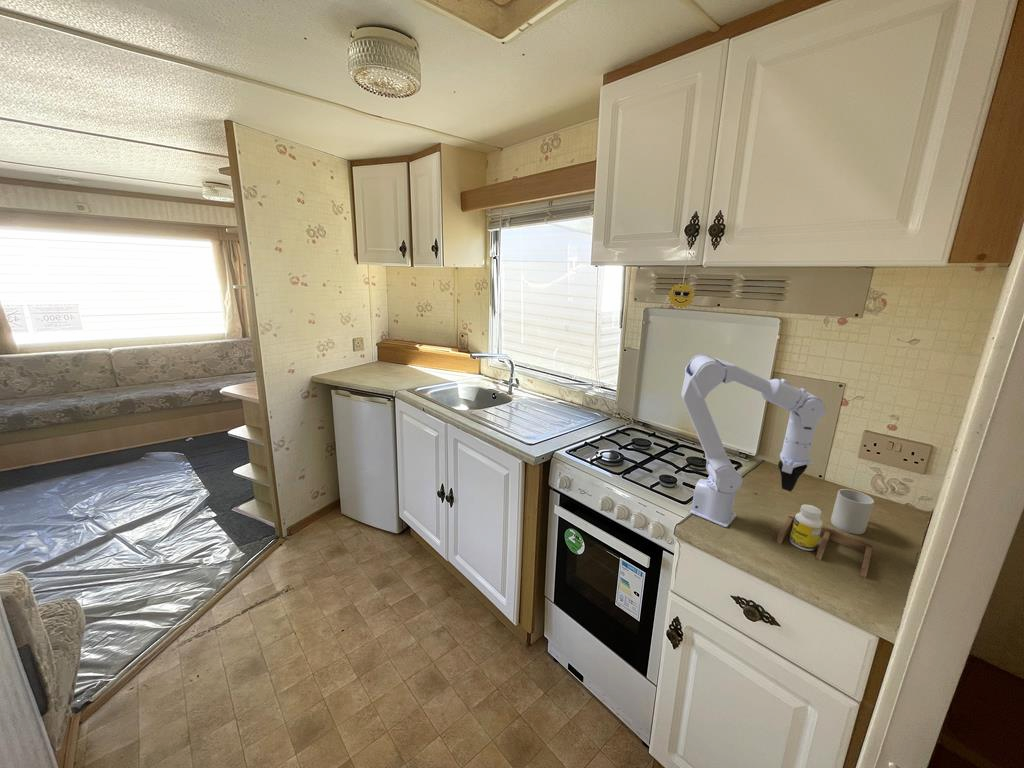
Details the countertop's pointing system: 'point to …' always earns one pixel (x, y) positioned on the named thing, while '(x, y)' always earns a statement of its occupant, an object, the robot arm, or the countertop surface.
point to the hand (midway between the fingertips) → (787, 489)
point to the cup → (851, 511)
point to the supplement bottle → (806, 528)
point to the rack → (836, 537)
